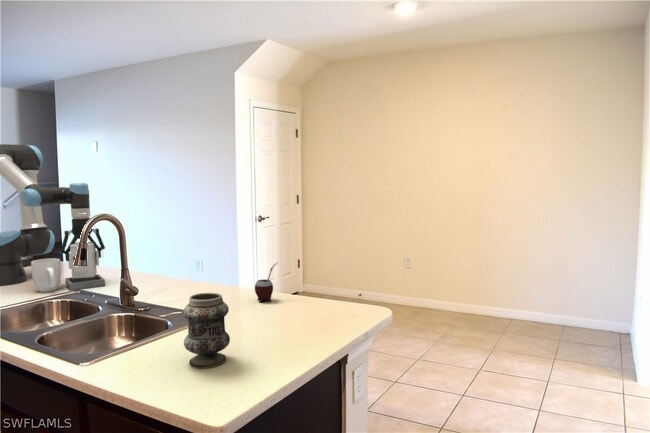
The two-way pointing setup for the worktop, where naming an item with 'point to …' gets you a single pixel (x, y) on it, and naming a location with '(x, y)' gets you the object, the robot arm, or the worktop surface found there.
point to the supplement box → (91, 268)
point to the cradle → (84, 282)
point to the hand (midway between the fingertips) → (84, 266)
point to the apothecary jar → (206, 329)
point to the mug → (46, 274)
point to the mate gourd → (264, 289)
